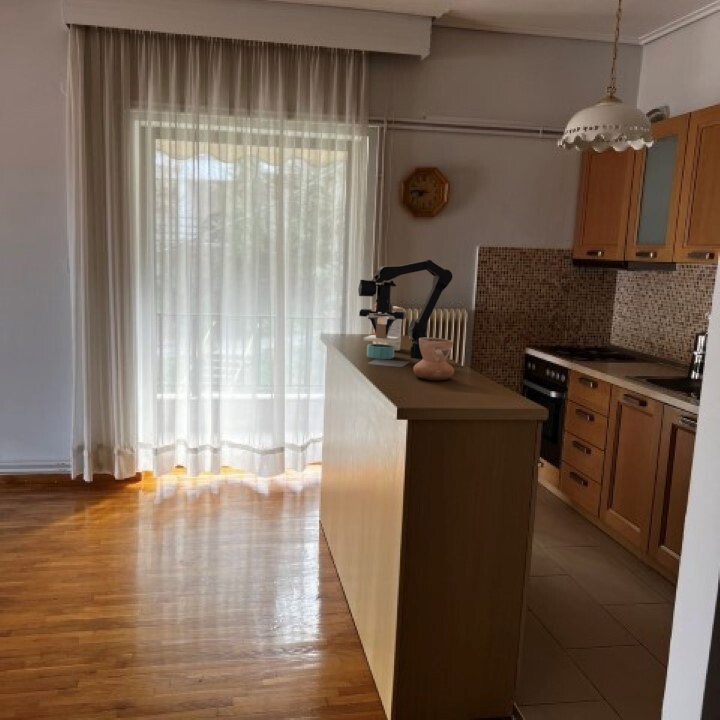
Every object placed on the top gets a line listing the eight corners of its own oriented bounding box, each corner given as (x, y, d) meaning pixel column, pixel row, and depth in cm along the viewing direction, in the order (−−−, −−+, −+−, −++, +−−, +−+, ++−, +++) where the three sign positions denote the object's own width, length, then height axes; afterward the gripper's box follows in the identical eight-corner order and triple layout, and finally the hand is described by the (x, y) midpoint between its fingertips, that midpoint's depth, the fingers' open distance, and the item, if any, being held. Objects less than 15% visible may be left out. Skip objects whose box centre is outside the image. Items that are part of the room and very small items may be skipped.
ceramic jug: (457, 384, 243) (460, 343, 241) (415, 381, 243) (418, 340, 241) (448, 375, 261) (451, 337, 259) (409, 373, 260) (412, 335, 259)
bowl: (396, 357, 299) (396, 345, 298) (389, 360, 288) (390, 348, 288) (371, 354, 302) (371, 343, 301) (363, 358, 291) (364, 346, 290)
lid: (398, 339, 298) (399, 324, 297) (392, 342, 287) (392, 326, 286) (371, 337, 301) (372, 322, 300) (363, 340, 290) (364, 324, 289)
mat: (409, 362, 285) (409, 362, 285) (401, 367, 271) (401, 366, 271) (375, 359, 288) (376, 358, 288) (366, 364, 275) (366, 363, 275)
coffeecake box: (372, 346, 330) (374, 304, 327) (385, 345, 333) (387, 304, 330) (386, 350, 317) (389, 307, 314) (400, 350, 320) (403, 307, 317)
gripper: (409, 297, 296) (407, 334, 299) (367, 294, 301) (365, 331, 304) (404, 298, 286) (402, 337, 288) (359, 296, 291) (358, 333, 293)
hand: (381, 334), depth 294 cm, fingers closed on lid, 4 cm apart
